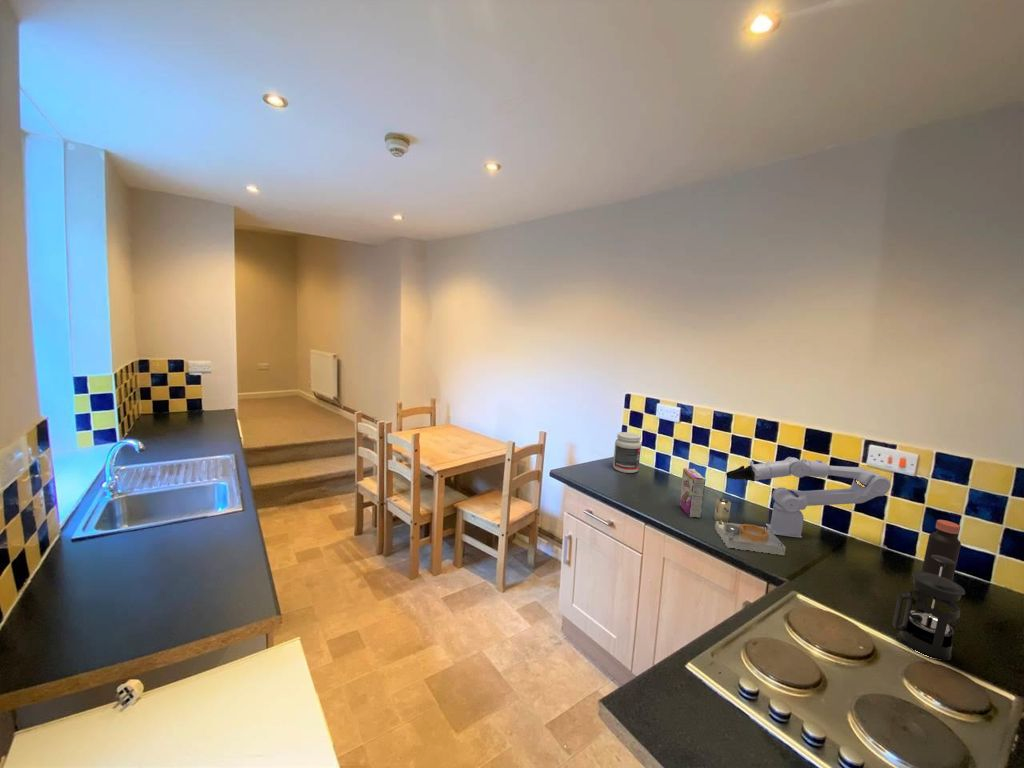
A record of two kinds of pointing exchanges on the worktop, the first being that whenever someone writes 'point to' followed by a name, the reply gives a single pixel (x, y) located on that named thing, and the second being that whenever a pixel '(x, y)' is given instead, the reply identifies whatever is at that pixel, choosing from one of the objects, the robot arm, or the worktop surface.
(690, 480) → the candy bar box
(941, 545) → the bottle
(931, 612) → the french press
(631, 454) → the supplement tub
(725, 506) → the tan piece
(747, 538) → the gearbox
